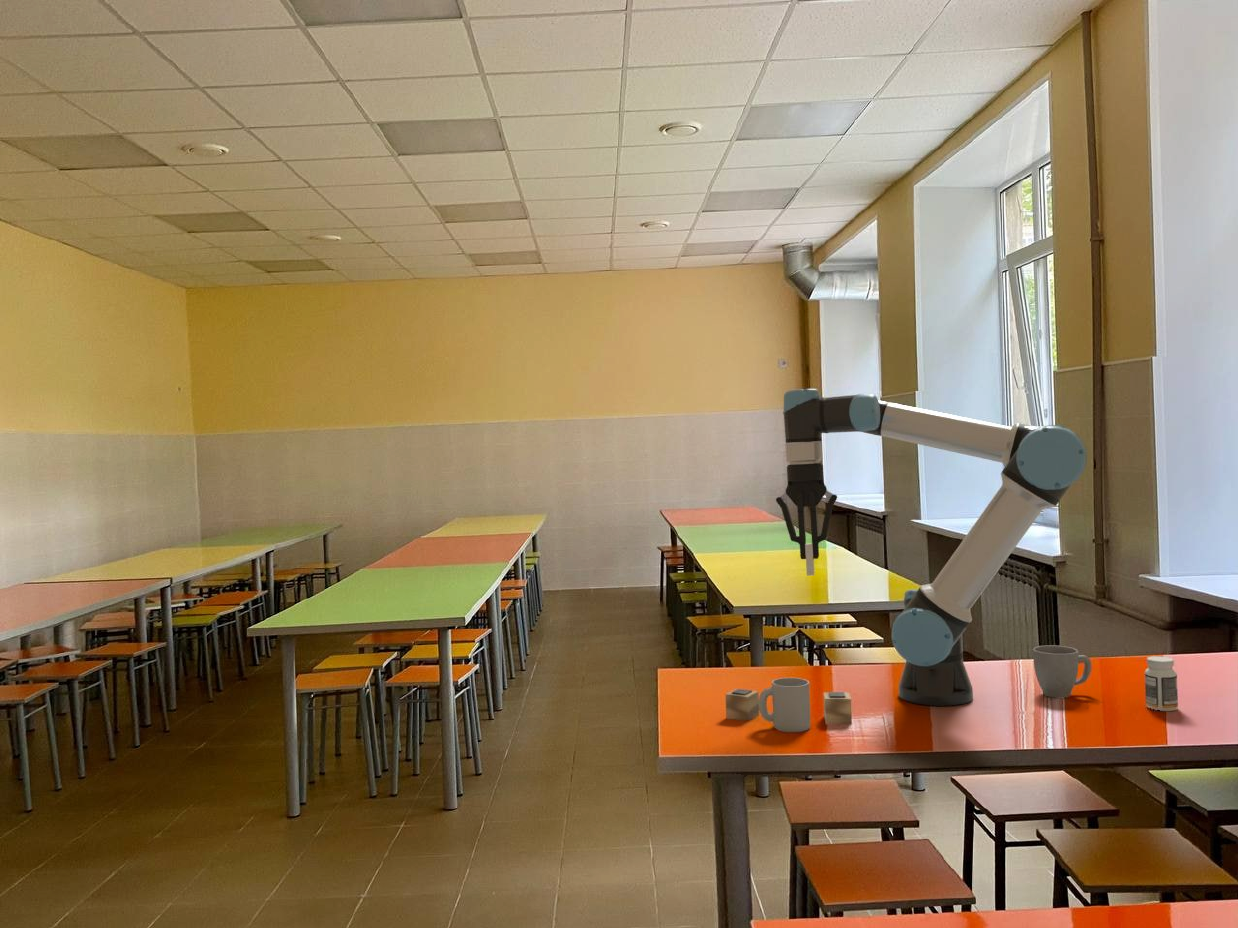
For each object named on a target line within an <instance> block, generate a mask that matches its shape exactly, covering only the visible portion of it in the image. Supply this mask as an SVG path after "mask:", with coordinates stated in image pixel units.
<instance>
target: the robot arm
mask: <svg viewBox="0 0 1238 928" xmlns="http://www.w3.org/2000/svg"><path fill="white" fill-rule="evenodd" d="M782 415H783V421H784V422H783V424H784V436H785V458H786V462H787V463H789V464H787V466H786V477H787V478H786V479H787V486H786V487H785V493H783V494H781V495H780V496H778V497H776V498H775V502H776V503H777V504H778V506H779V507H780V509H781V511H782V515H783V518H784V522H785V525H786V528H787V532H788V534H789V538H790V540H791V542H795V543H797V544H798V545H799V556H800V559H801V560H805V564H806V565H805V566H806V568H805V569H806V576H815V574H816V572H815V560H817V559H819V557H820V551H819V550H820V549H819V548H820V547H819V543H821V542H823V541H826V540H827V538H828V533H829V526H830V522H831V517H832V511H833V506H834V504H835V503H836V502H837V500H838V499H837V498H838V495H837V494H835V493H832V492H830V491H829V490H828V489H827V486H826V484H825V478H824V476H825V475H824V464H823V463H822V462H821V461H822V460H823V458H824V457H823V443H822V442H823V440H822V434H831V433H832V434H833V433H853V432H854V433H856V432H857V433H858V432H859V433H864V434H869V435H874V436H880V437H883V438H884V437H885V438H890V439H893V440H898V441H902V442H907V443H910V444H911V443H912V444H916V445H920V446H925V447H930V448H933V449H938V450H944V451H948V452H951V453H957V454H961V455H967V456H971V457H975V458H979V459H985V460H989V461H993V462H997V463H1002V465H1003V466H1004V468H1003V469H1002V470H1001V472H1000V476H1001V480H1002V483H1001V484H1002V485H1001V487H999V489H998V490H997V491H996V493H995V495H994V496H993V497H992V499H991V501H989V503H988V505H987V506H986V507H985V508H984V510H983V512H982V513H981V514H980V516H979V517H978V519H977V520H976V521H975V523H974V524H973V526H972V527H971V528H970V530H969V531H968V533H967V534H966V535H965V537H964V538H963V539H962V541H961V542H960V544H959V545H958V547H957V548H956V549H955V550H954V552H953V553H952V555H951V556H950V558H949V559H948V561H947V562H946V563H945V565H944V566H943V567H942V569H941V571H940V572H939V573H938V574H937V576H936V577H935V579H934V580H933V582H932V583H927V584H922V585H920V586H919V588H918V589H907V590H906V591H905V592H904V598H903V601H902V602H903V605H904V609H903V610H902V612H901V613H900V614H898V615H897V616H896V617H895V619H894V621H893V623H892V627H891V641H892V645H893V647H894V649H895V651H896V652H897V654H898V655H900V657H901V658H903V660H905V663H904V666H903V669H902V673H901V677H900V679H899V680H900V681H899V683H898V697H900V699H902V700H904V701H905V702H909V703H913V704H919V705H926V706H937V707H938V706H941V707H943V706H944V707H945V706H946V707H947V706H958V705H964V704H967V703H969V702H972V700H974V689H973V685H972V683H971V680H970V677H969V675H968V674H969V673H968V671H967V669H966V666H965V664H964V649H963V648H964V647H963V644H964V643H963V634H964V632H965V630H966V629H967V628H968V627H969V626H970V624H971V623H972V621H973V617H972V613H971V608H972V607H973V606H974V604H976V601H978V599H979V598H980V596H981V595H982V593H983V592H984V591H985V589H986V588H987V587H988V585H989V584H990V582H991V581H992V580H993V579H994V577H995V575H996V574H997V573H998V572H999V570H1000V569H1001V567H1003V565H1004V563H1005V562H1006V561H1007V559H1008V558H1009V556H1010V555H1011V554H1012V553H1013V551H1014V550H1015V548H1016V547H1017V546H1018V544H1019V543H1020V541H1021V540H1022V539H1023V537H1024V536H1025V534H1026V533H1027V532H1028V530H1029V529H1030V528H1031V526H1032V525H1033V524H1034V522H1035V521H1036V519H1037V518H1038V517H1039V516H1040V514H1041V512H1042V511H1044V510H1045V509H1051V508H1056V506H1057V505H1058V504H1059V502H1060V501H1061V500H1062V498H1063V497H1064V496H1065V495H1066V493H1067V491H1068V490H1069V489H1070V488H1071V486H1072V484H1074V482H1077V480H1078V479H1079V478H1080V477H1081V476H1082V474H1083V473H1084V471H1085V469H1086V466H1087V461H1088V460H1087V459H1088V455H1087V453H1088V452H1087V449H1086V445H1085V444H1084V441H1083V440H1082V438H1081V437H1080V436H1079V435H1078V434H1077V433H1076V432H1074V431H1073V430H1072V429H1069V428H1067V427H1065V426H1063V425H1057V424H1056V425H1055V424H1047V425H1040V426H1039V425H1029V424H1025V423H1019V422H1017V423H1016V424H1012V425H1011V426H1010V425H1009V426H1008V425H1004V424H999V423H994V422H989V421H984V420H979V419H974V418H969V417H964V416H958V415H954V414H949V413H944V412H939V411H935V410H930V409H925V408H920V407H914V406H909V405H903V404H899V403H895V402H888V401H884V400H881V399H878V397H877V395H875V394H871V393H870V394H868V393H866V394H865V393H862V394H861V393H857V394H851V395H840V396H831V397H830V396H829V397H826V396H825V397H821V395H820V391H819V390H818V389H817V388H805V389H803V388H801V389H792V390H791V389H790V390H787V391H786V392H785V393H784V394H783V413H782ZM824 497H825V502H826V506H825V512H824V517H823V523H822V527H821V528H822V529H821V533H820V534H819V529H818V527H819V526H818V512H817V510H818V509H817V508H818V507H817V506H818V505H819V503H821V500H823V498H824ZM788 498H789V499H790V501H791V502H792V503H793V504H794V505H795V506H796V507H797V518H798V519H797V521H798V535H797V533H796V529H795V525H794V522H793V518H792V516H791V513H790V509H789V506H788V503H789V500H788ZM805 507H809V511H810V530H811V532H810V533H811V542H807V540H806V535H807V534H806V533H807V532H806V518H805V517H806V516H805Z"/></svg>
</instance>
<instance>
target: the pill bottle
mask: <svg viewBox="0 0 1238 928" xmlns="http://www.w3.org/2000/svg"><path fill="white" fill-rule="evenodd" d="M1174 661H1175V660H1174V659H1173V657H1172V658H1171V657H1167V656H1155V655H1154V656H1149V657H1146V665H1147V666H1148V668H1146V669H1145V671H1144V691H1145V692H1144V695H1145V706H1146V708H1148V709H1150V708H1151V709H1150V710H1153V709H1154V710H1153V711H1157V710H1160V711H1159V712H1172V711H1176V710H1178V708H1179V700H1178V698H1179V697H1178V674H1177V671H1175V670H1174V669H1173V667H1174V665H1175V662H1174Z"/></svg>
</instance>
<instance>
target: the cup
mask: <svg viewBox="0 0 1238 928" xmlns="http://www.w3.org/2000/svg"><path fill="white" fill-rule="evenodd" d="M810 695H811V694H810V681H809V680H808V679H804V678H799V677H781V678H776V679H773V680H772V681H771V687H769V686H768V687H767V688H764V689H763V690H762V691H761V692H760V693H759V695H758V696H759V701H758V707H759V715H760V716H761V717H762V718H763V719H764V720H765V721H768V722H770V723H773V724H772V725H773V727H774V729H775V730H777V731H780V732H783V733H802V732H806V731H809V730H810V728H811V700H810V699H811V698H810V697H811V696H810ZM771 696H772V699H771V700H772V712H771V713H770V712H769V710H768V707H767V701H768V697H771Z"/></svg>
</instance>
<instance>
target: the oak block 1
mask: <svg viewBox="0 0 1238 928" xmlns="http://www.w3.org/2000/svg"><path fill="white" fill-rule="evenodd" d="M759 696H760V695H759V691H758V690H751V689H742V688H735V689H732V690H731V691H729V692H727V693H726V694H725V718H726V719H729V720H736V721H742V722H743V721H744V722H750V721H752V720H753V719H755V718H756V717H758V716H760V712H759V707H758V701H759Z"/></svg>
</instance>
